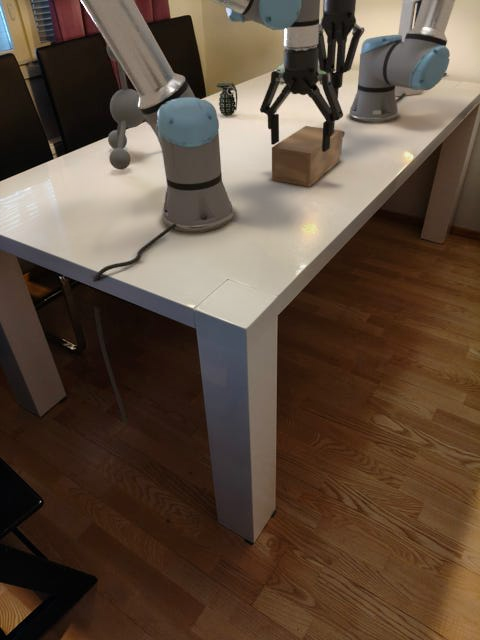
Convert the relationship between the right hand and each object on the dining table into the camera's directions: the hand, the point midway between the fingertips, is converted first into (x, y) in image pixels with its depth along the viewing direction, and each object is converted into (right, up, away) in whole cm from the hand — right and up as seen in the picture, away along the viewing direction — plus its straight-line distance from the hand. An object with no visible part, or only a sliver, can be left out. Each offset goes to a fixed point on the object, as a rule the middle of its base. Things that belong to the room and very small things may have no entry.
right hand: (333, 100), depth 127 cm
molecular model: (-52, -10, +14) cm, 55 cm away
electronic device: (+36, +27, +54) cm, 71 cm away
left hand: (-10, -15, -10) cm, 21 cm away
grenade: (-28, +14, +42) cm, 53 cm away
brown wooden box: (-7, -19, -1) cm, 20 cm away
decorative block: (+3, +46, +81) cm, 93 cm away
